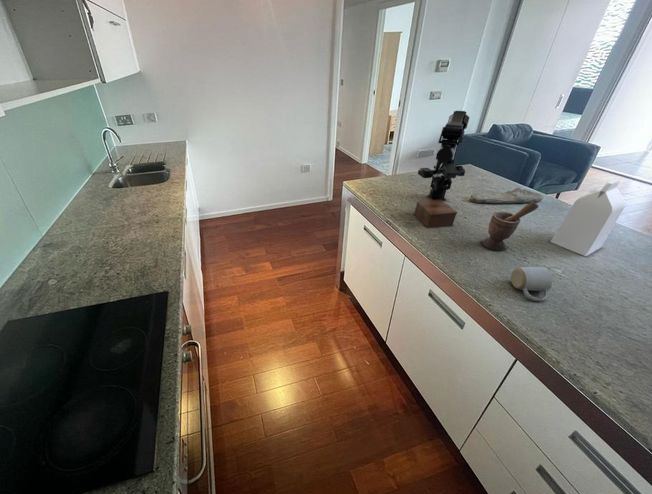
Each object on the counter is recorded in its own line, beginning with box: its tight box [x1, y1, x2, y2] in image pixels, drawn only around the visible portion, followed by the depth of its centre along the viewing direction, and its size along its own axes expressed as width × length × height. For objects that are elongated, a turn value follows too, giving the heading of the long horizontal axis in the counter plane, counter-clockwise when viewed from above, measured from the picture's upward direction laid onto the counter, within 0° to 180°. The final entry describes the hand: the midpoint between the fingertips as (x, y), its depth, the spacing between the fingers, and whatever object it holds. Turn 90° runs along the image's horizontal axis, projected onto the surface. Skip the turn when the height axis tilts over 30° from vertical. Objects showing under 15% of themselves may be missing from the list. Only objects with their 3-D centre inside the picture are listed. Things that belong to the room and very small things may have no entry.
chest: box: [413, 202, 457, 229], centre depth 133 cm, size 13×11×6 cm
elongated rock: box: [469, 187, 544, 204], centre depth 149 cm, size 35×5×10 cm
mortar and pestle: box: [482, 202, 539, 252], centre depth 110 cm, size 12×9×20 cm
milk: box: [550, 179, 627, 257], centre depth 108 cm, size 12×12×26 cm
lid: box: [416, 199, 458, 216], centre depth 131 cm, size 13×11×1 cm
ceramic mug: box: [510, 266, 553, 302], centre depth 92 cm, size 11×8×8 cm
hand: (436, 190), depth 133 cm, fingers closed
